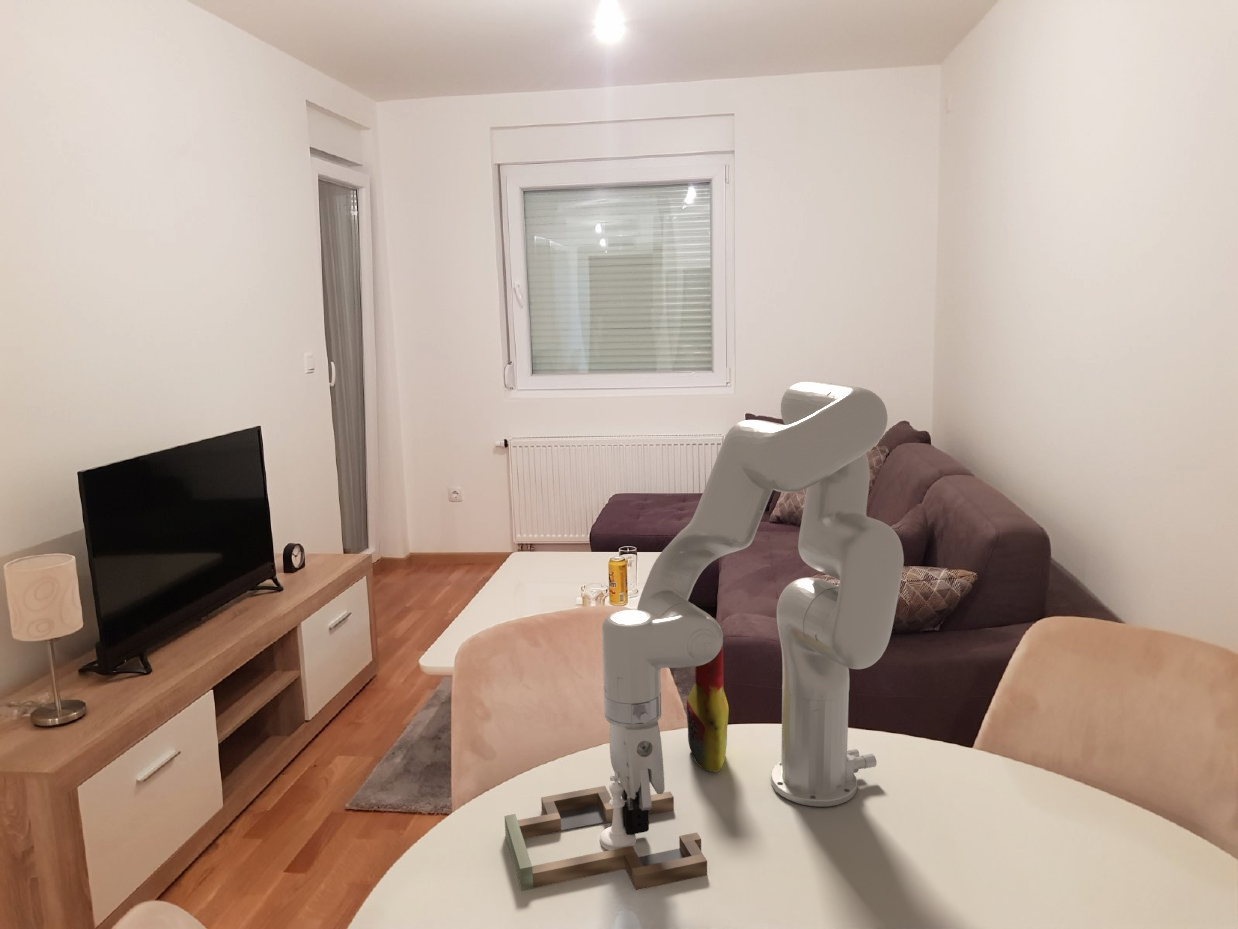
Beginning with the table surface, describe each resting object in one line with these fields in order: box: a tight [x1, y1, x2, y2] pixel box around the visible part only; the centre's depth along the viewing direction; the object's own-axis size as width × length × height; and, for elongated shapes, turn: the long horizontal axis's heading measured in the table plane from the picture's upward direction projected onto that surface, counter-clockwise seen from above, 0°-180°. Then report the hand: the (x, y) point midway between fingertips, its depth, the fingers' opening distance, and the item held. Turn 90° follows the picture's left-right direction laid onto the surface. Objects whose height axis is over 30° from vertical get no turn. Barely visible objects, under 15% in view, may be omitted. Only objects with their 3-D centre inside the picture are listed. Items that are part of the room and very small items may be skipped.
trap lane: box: [504, 785, 708, 891], centre depth 119 cm, size 24×21×3 cm
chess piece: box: [599, 772, 637, 851], centre depth 119 cm, size 5×5×10 cm
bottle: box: [686, 646, 729, 772], centre depth 138 cm, size 12×6×20 cm, turn 1°
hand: (635, 830), depth 120 cm, fingers closed
